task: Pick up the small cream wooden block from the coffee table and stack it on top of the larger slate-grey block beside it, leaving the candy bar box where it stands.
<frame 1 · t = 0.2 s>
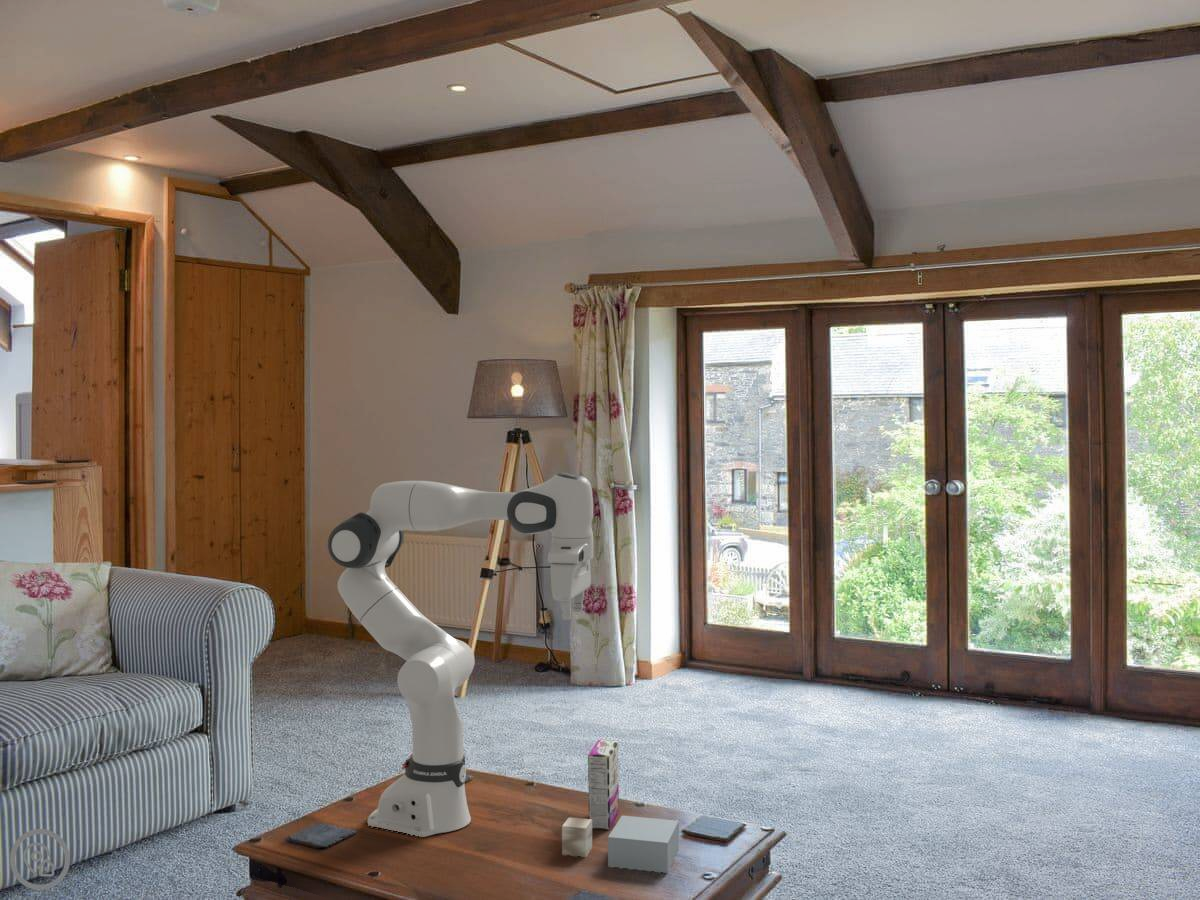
hand: (572, 615, 230), 47 cm above the table, tool pointing down, fingers open, 8 cm apart
slate block: (644, 858, 219), on the table
cream block: (577, 851, 223), on the table
candy bar box: (603, 821, 240), on the table
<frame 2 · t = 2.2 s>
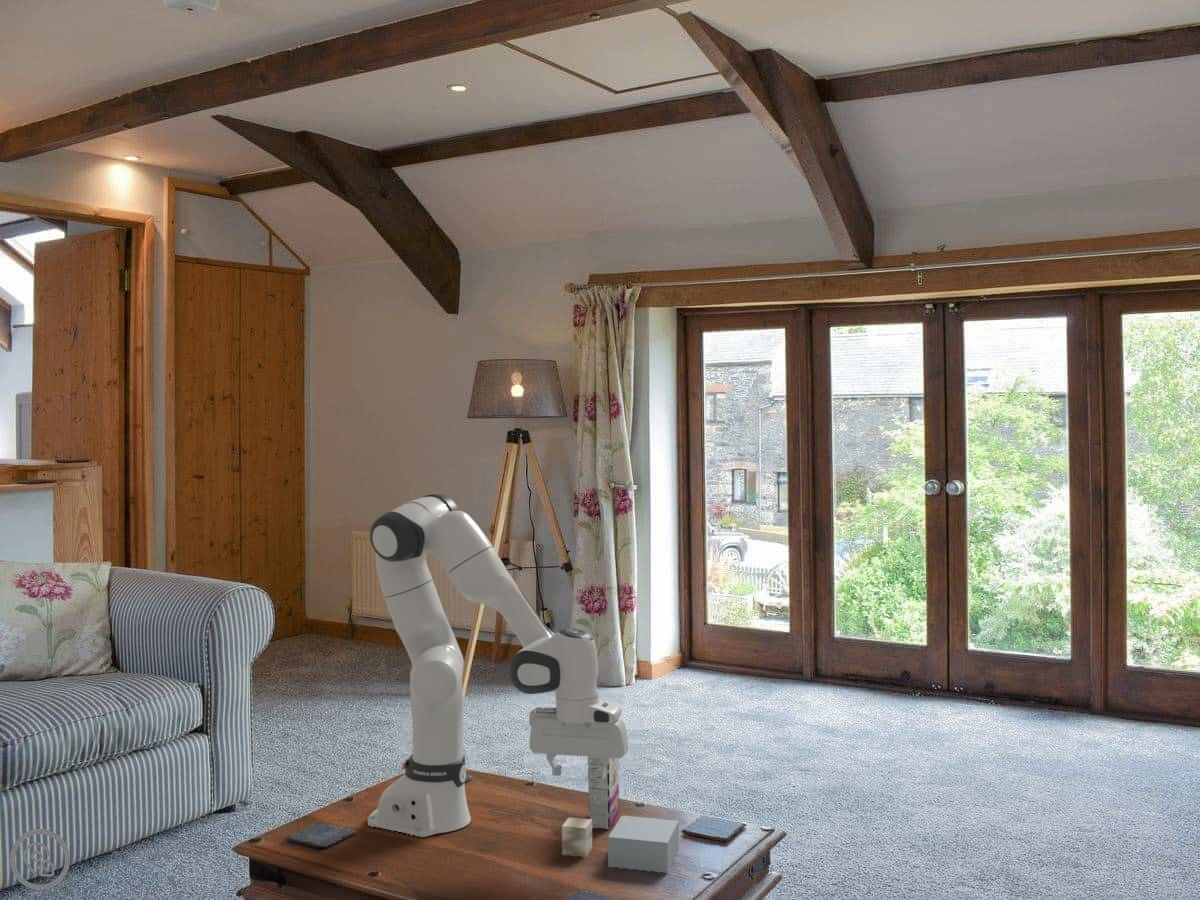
hand: (579, 776, 222), 16 cm above the table, tool pointing down, fingers open, 8 cm apart
nothing on the table moved.
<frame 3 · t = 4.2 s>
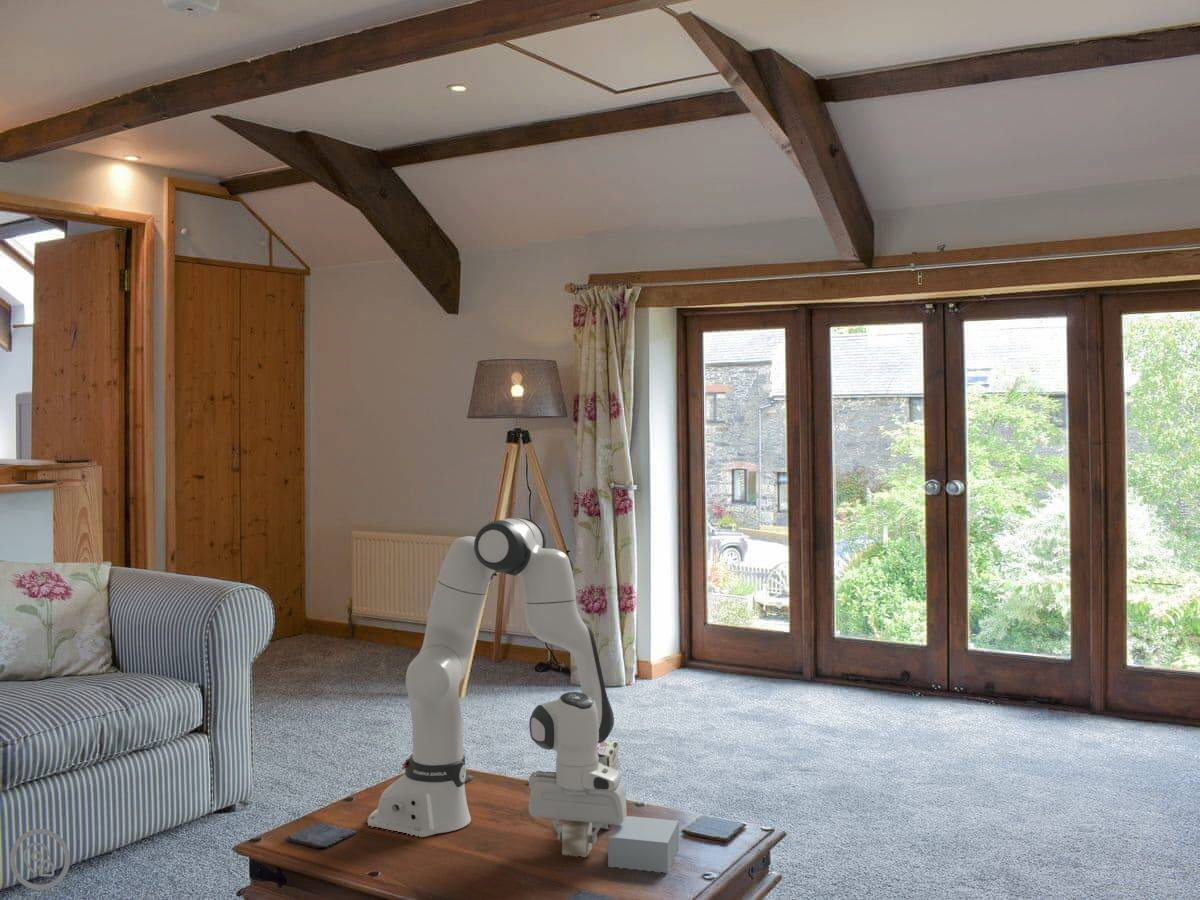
hand: (577, 841, 223), 2 cm above the table, tool pointing down, fingers closed on cream block, 5 cm apart
cream block: (577, 851, 223), on the table, touching gripper
everything else where it was.
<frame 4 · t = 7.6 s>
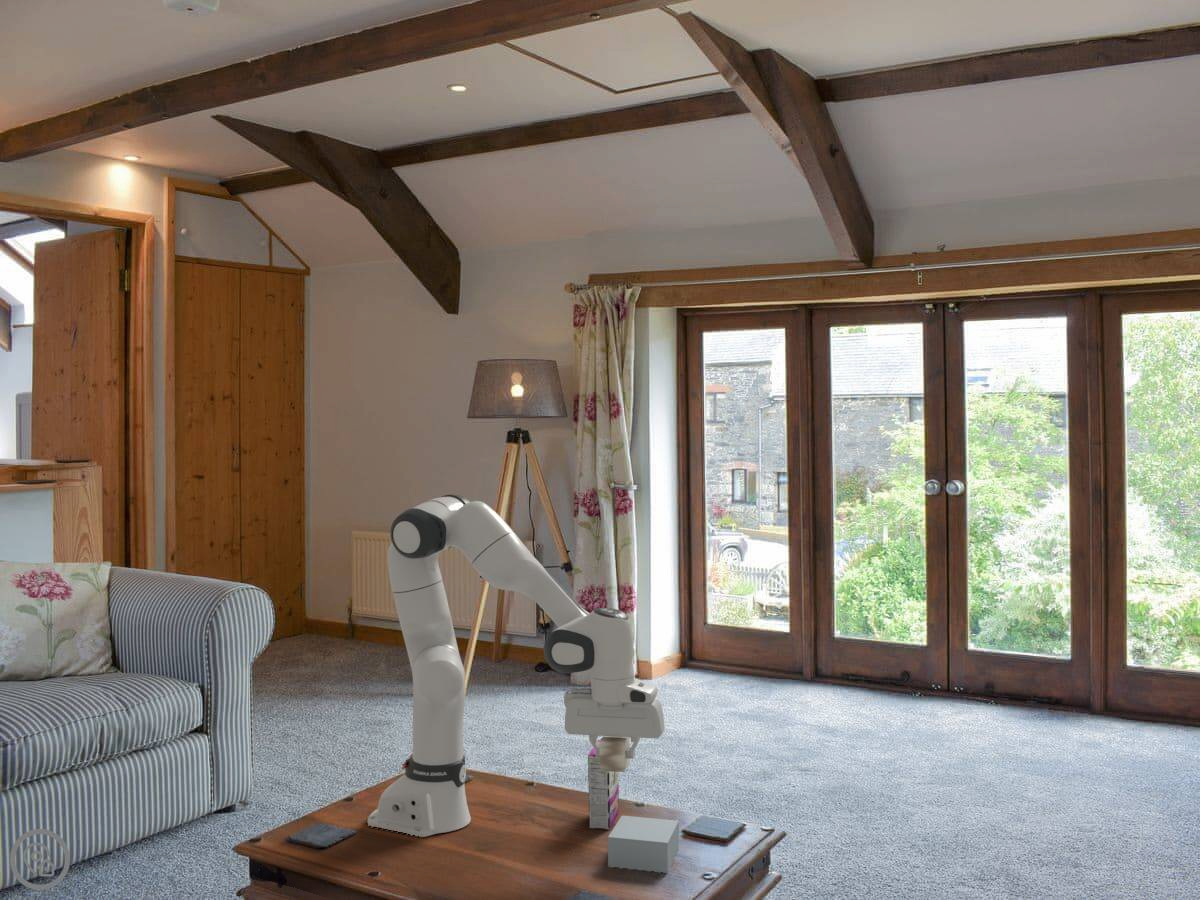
hand: (615, 757, 220), 20 cm above the table, tool pointing down, fingers closed on cream block, 5 cm apart
cream block: (615, 767, 220), point 18 cm above the table, touching gripper
everything else where it was.
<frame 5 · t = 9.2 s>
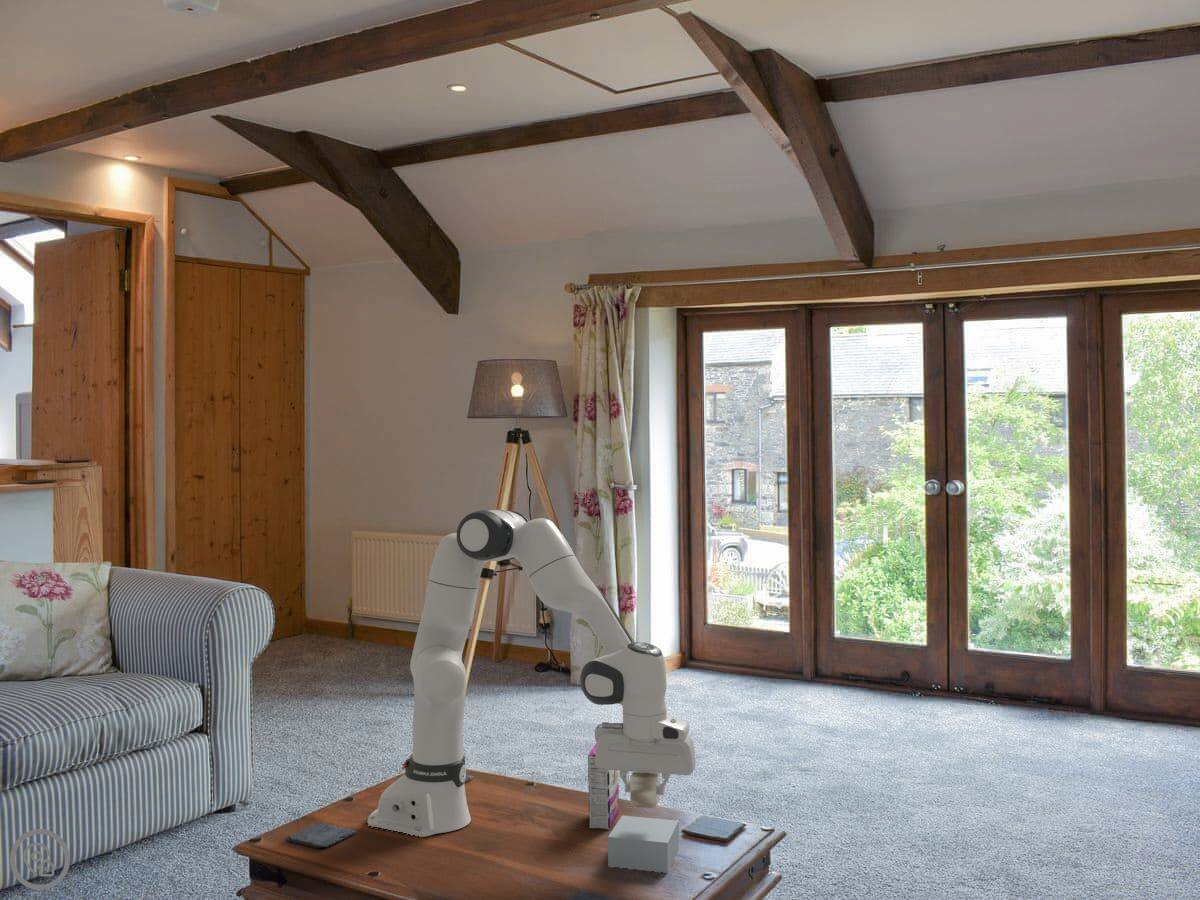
hand: (645, 792, 219), 13 cm above the table, tool pointing down, fingers closed on cream block, 5 cm apart
cream block: (645, 803, 219), point 11 cm above the table, touching gripper
everything else where it was.
when the fingers open (9 cm above the table, at t = 10.8 s): cream block stays where it is, resting on slate block.
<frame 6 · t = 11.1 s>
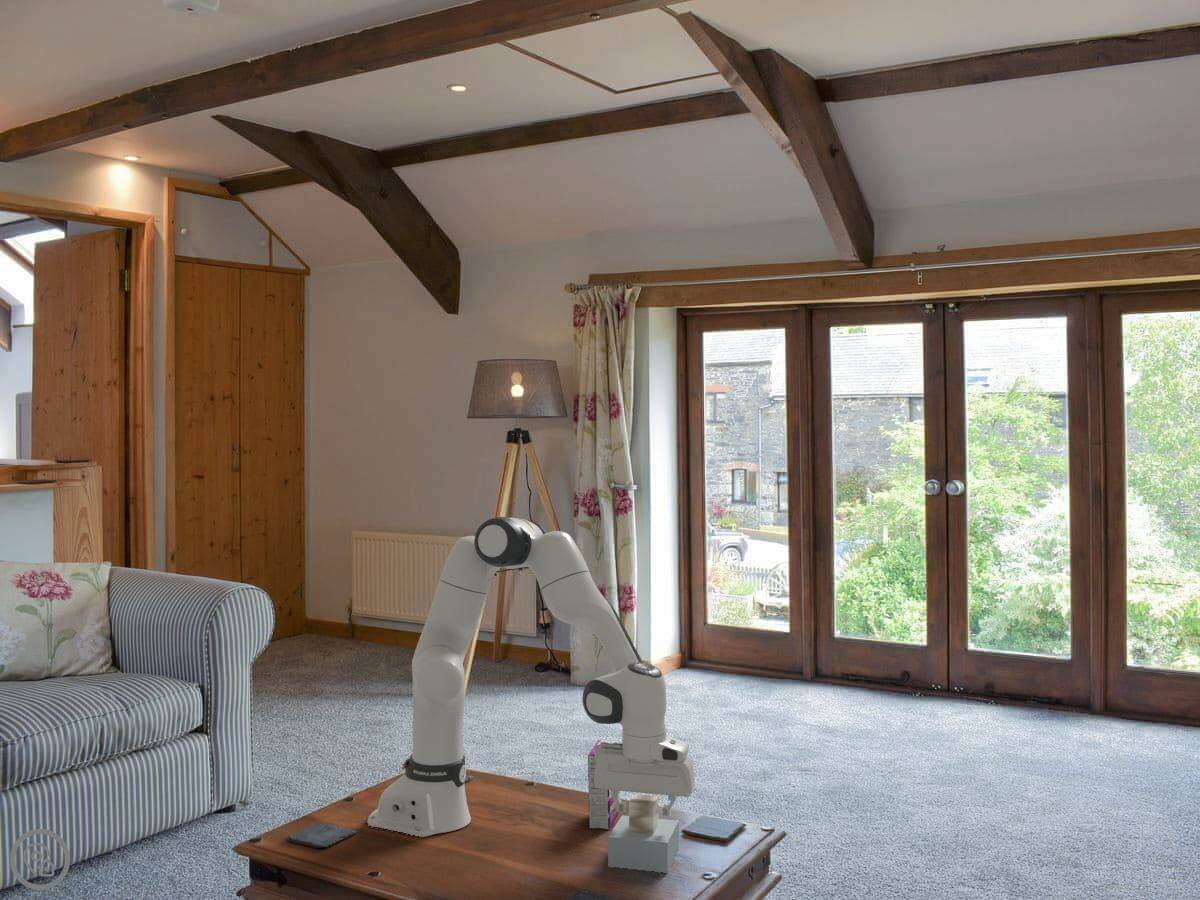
hand: (643, 813, 219), 9 cm above the table, tool pointing down, fingers open, 8 cm apart
cream block: (643, 828, 219), point 6 cm above the table, touching slate block
everything else where it was.
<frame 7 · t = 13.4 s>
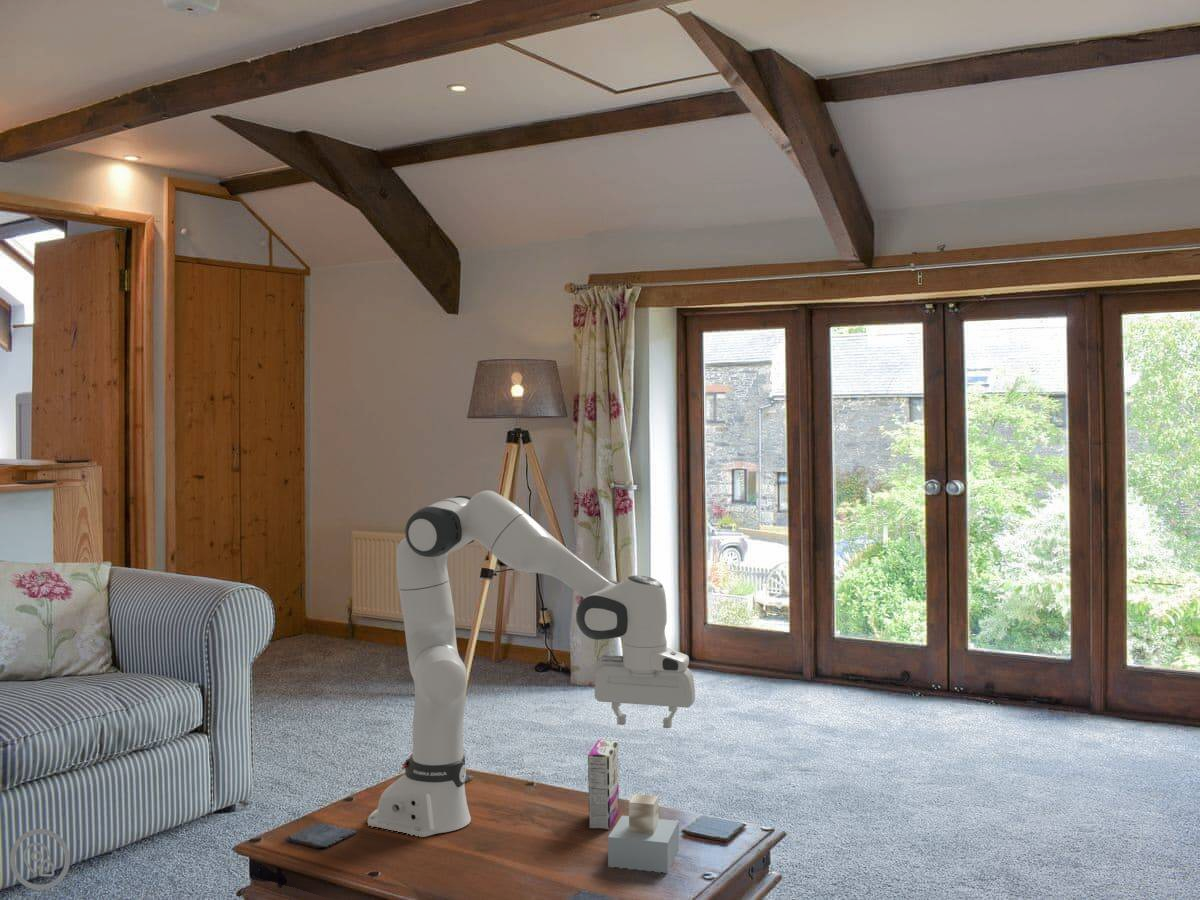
hand: (644, 725, 219), 27 cm above the table, tool pointing down, fingers open, 8 cm apart
nothing on the table moved.
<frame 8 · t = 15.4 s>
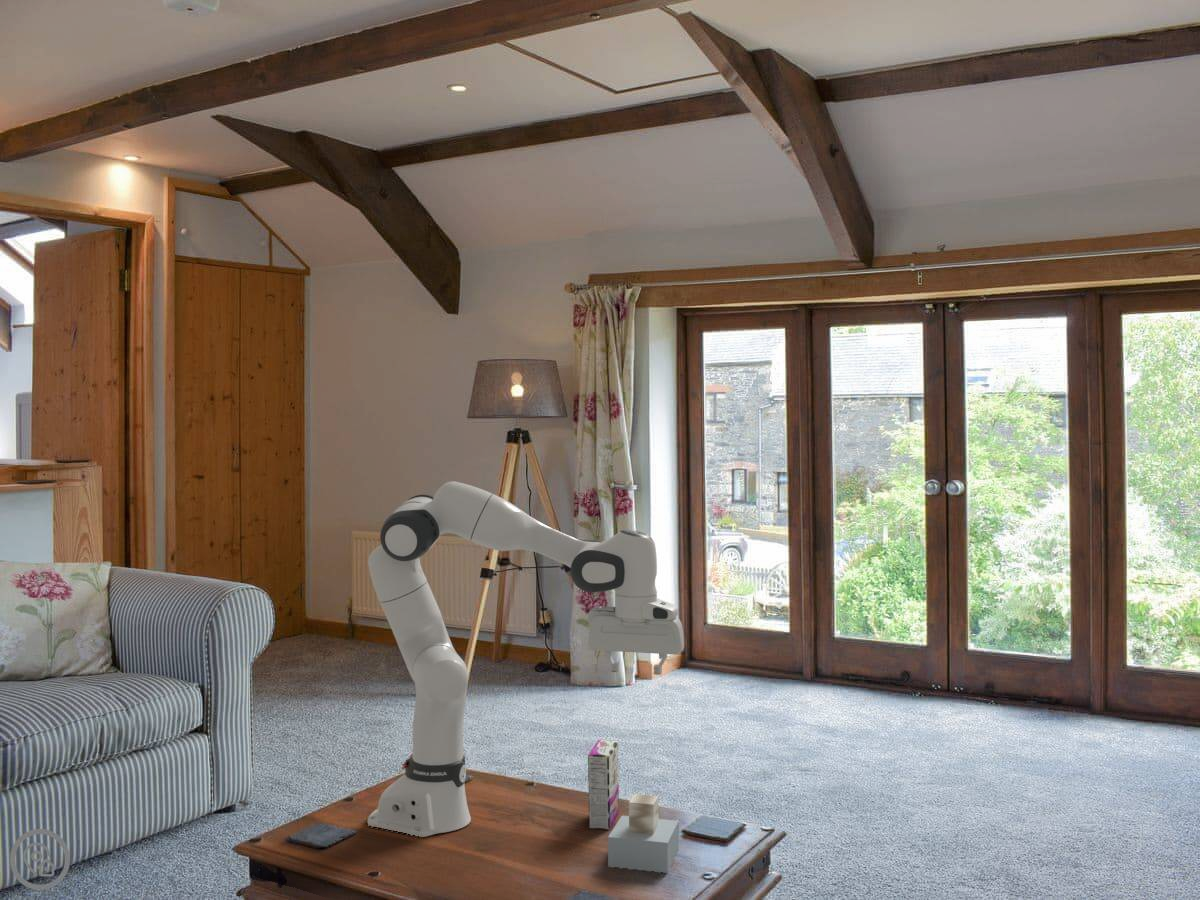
hand: (635, 672, 229), 35 cm above the table, tool pointing down, fingers open, 8 cm apart
nothing on the table moved.
at the end: cream block inside the target area on the slate block (0.1 cm from its centre), point 6.0 cm above the slate block's base; cream block tilted 0°; the gripper is holding nothing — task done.
